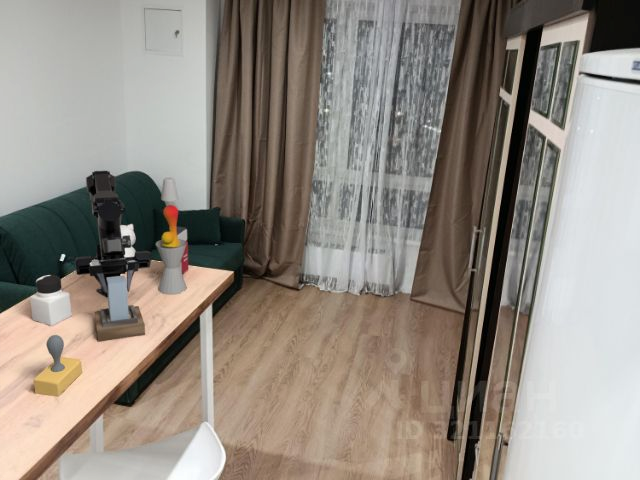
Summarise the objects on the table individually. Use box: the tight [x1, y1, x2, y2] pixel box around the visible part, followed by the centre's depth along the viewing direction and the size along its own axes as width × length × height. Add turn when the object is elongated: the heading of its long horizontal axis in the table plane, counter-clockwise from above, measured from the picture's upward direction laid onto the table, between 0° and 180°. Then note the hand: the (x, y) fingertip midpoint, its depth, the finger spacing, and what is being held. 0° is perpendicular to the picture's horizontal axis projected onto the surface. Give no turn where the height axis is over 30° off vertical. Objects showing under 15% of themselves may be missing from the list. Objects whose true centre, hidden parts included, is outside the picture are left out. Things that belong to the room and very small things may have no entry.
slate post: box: [106, 275, 129, 321], centre depth 156 cm, size 4×4×11 cm
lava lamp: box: [155, 177, 188, 296], centre depth 179 cm, size 9×9×35 cm
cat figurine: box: [120, 223, 137, 257], centre depth 195 cm, size 9×12×15 cm
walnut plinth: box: [93, 304, 146, 343], centre depth 159 cm, size 12×12×4 cm
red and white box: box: [164, 225, 189, 275], centre depth 192 cm, size 11×4×15 cm, turn 168°
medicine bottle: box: [29, 274, 73, 327], centre depth 161 cm, size 7×7×12 cm
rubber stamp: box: [33, 334, 83, 397], centre depth 132 cm, size 10×6×12 cm, turn 171°
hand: (117, 292), depth 155 cm, fingers open, 5 cm apart
